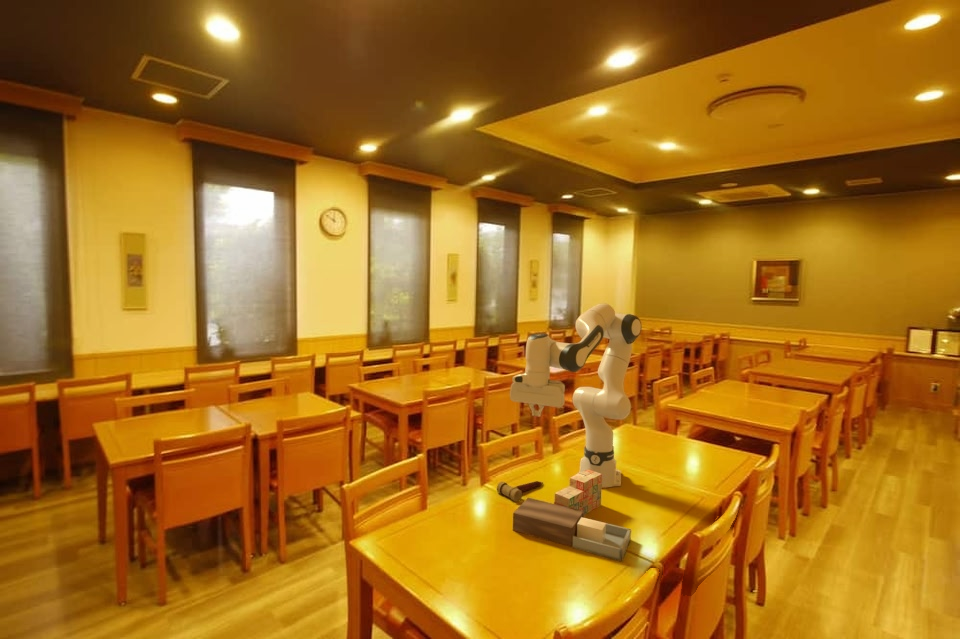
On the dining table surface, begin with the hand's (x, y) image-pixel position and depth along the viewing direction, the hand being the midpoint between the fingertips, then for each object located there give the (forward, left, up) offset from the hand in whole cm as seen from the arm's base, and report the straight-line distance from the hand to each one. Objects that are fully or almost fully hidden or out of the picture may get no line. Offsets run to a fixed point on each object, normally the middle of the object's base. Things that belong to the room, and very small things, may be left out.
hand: (536, 415), depth 171 cm
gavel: (-11, -8, -35) cm, 37 cm away
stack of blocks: (-4, +15, -34) cm, 38 cm away
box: (+13, +28, -34) cm, 46 cm away
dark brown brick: (+13, +10, -34) cm, 38 cm away
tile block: (+13, +20, -31) cm, 39 cm away
